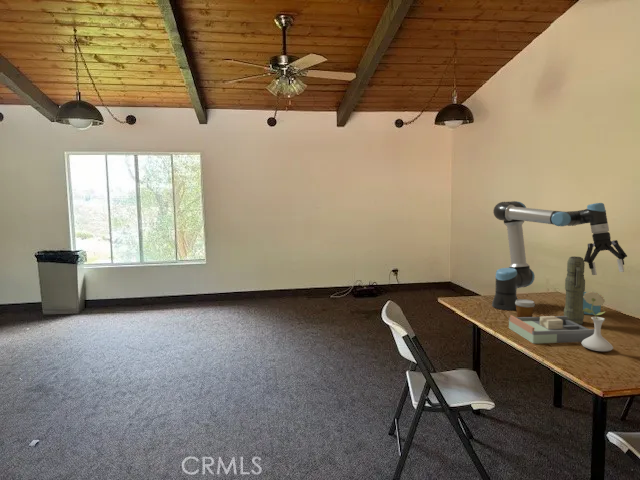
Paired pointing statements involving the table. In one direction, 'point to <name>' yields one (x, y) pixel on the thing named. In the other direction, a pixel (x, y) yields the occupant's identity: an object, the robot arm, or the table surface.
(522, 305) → the disposable coffee cup
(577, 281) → the thermos
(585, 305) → the data package
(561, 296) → the table surface
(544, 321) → the birch block
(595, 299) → the flower in vase
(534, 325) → the box
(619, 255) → the robot arm
